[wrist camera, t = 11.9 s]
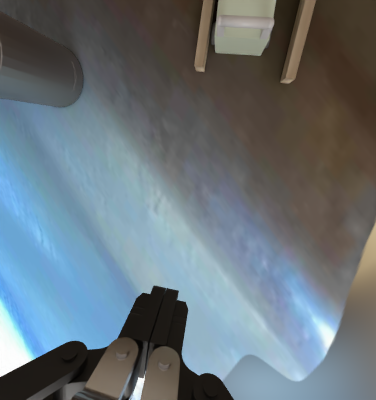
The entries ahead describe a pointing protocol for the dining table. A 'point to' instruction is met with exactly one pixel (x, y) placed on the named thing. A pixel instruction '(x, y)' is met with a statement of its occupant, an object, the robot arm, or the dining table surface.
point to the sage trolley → (243, 26)
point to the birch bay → (294, 46)
